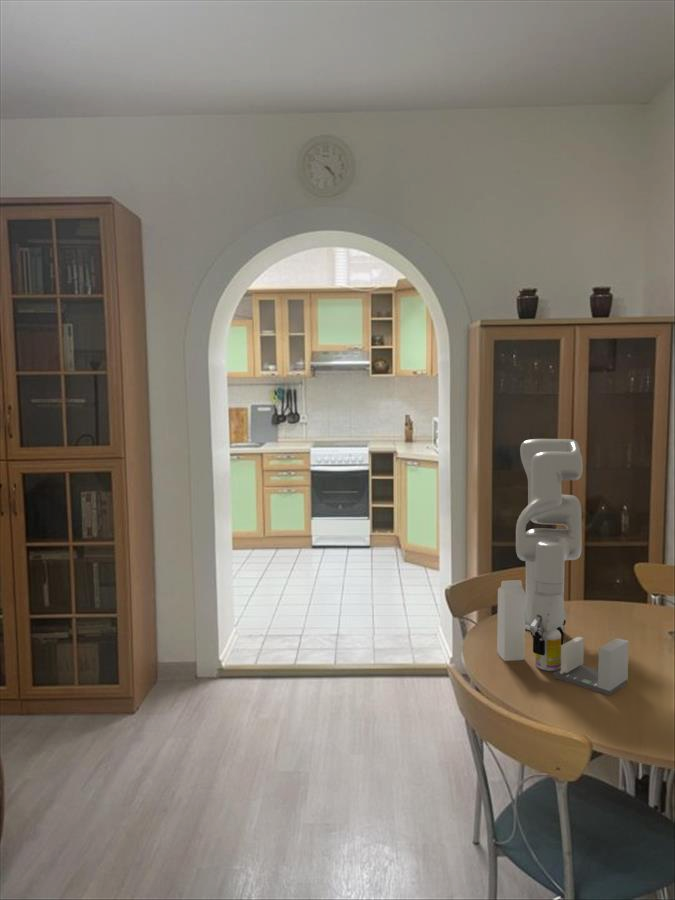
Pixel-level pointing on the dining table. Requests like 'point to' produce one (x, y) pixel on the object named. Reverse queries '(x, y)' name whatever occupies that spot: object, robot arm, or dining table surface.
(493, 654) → the dining table surface
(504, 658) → the milk
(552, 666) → the supplement bottle
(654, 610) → the dining table surface
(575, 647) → the cream flat slab
